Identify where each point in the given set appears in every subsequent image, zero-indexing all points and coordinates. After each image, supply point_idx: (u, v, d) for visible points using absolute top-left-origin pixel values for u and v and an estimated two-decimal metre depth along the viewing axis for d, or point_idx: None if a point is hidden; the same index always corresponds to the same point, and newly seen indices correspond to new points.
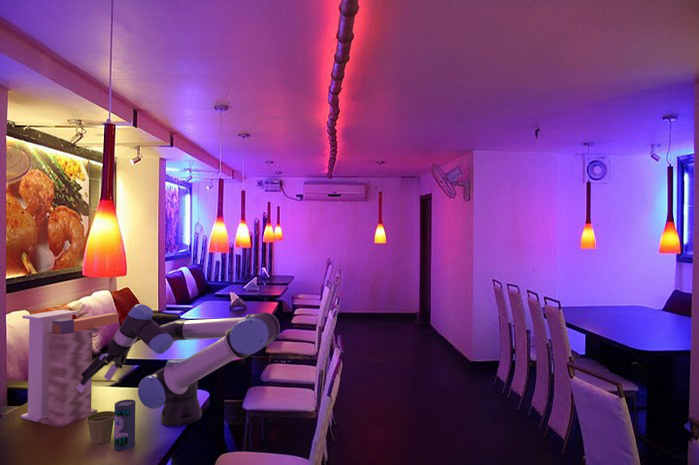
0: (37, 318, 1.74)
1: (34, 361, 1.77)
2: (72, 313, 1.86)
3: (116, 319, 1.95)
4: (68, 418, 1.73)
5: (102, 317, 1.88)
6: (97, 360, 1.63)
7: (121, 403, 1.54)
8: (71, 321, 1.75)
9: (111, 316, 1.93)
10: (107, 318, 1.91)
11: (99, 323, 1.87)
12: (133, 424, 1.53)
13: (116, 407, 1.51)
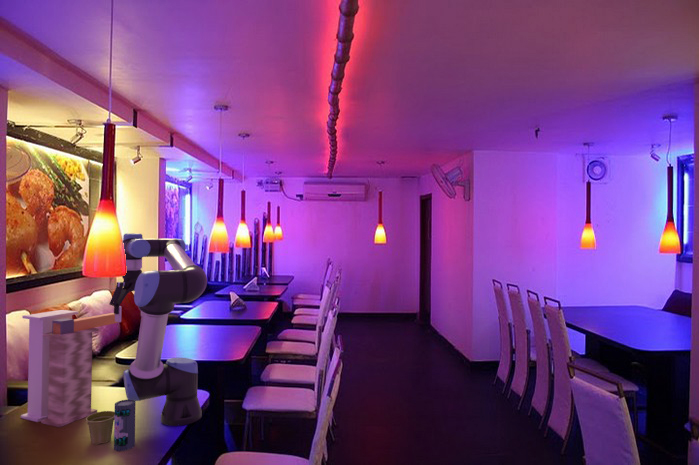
0: (37, 318, 1.74)
1: (34, 361, 1.77)
2: (72, 313, 1.86)
3: None
4: (68, 418, 1.73)
5: (102, 317, 1.88)
6: (117, 288, 1.86)
7: (121, 403, 1.54)
8: (71, 321, 1.75)
9: (111, 316, 1.93)
10: (107, 318, 1.91)
11: (99, 323, 1.87)
12: (133, 424, 1.53)
13: (116, 407, 1.51)
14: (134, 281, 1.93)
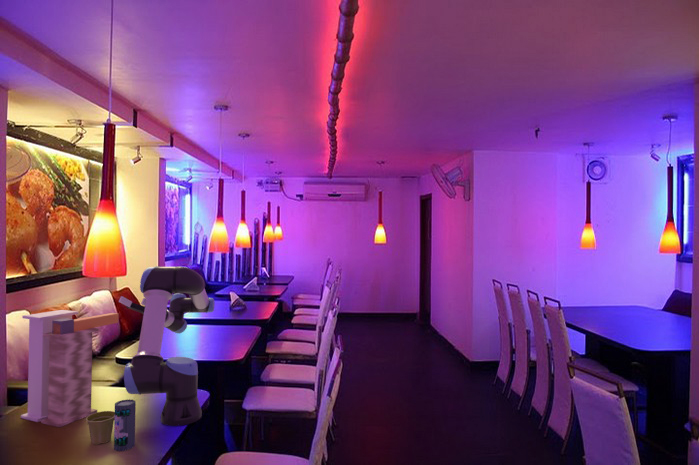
0: (37, 318, 1.74)
1: (34, 361, 1.77)
2: (72, 313, 1.86)
3: (116, 319, 1.95)
4: (68, 418, 1.73)
5: (102, 317, 1.88)
6: None
7: (121, 403, 1.54)
8: (71, 321, 1.75)
9: (111, 316, 1.93)
10: (107, 318, 1.91)
11: (99, 323, 1.87)
12: (133, 424, 1.53)
13: (116, 407, 1.51)
14: None
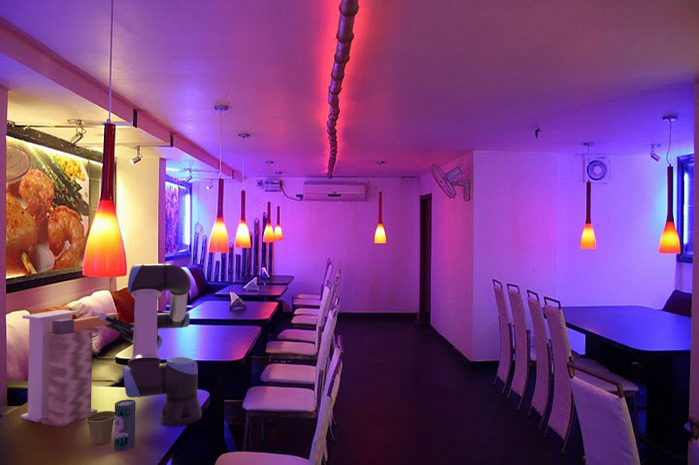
0: (37, 318, 1.74)
1: (34, 361, 1.77)
2: (72, 313, 1.86)
3: None
4: (68, 418, 1.73)
5: None
6: None
7: (121, 403, 1.54)
8: (71, 321, 1.75)
9: (111, 316, 1.93)
10: None
11: (99, 323, 1.87)
12: (133, 424, 1.53)
13: (116, 407, 1.51)
14: None
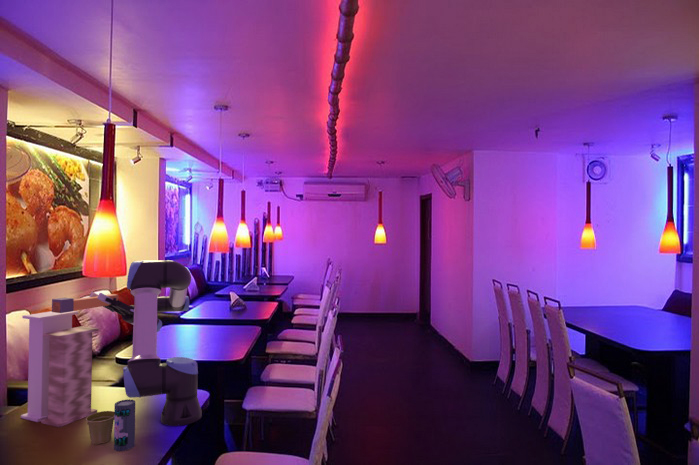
0: (37, 318, 1.74)
1: (34, 361, 1.77)
2: (72, 313, 1.86)
3: (116, 300, 1.95)
4: (68, 418, 1.73)
5: None
6: None
7: (121, 403, 1.54)
8: (71, 300, 1.76)
9: (111, 297, 1.93)
10: None
11: (98, 303, 1.87)
12: (133, 424, 1.53)
13: (116, 407, 1.51)
14: None
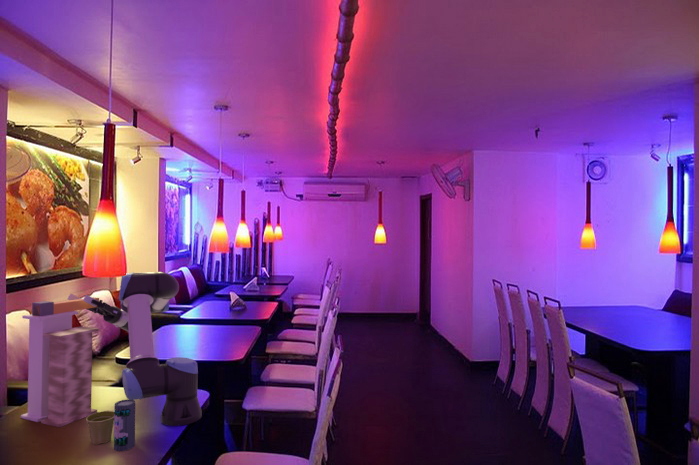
0: (37, 318, 1.74)
1: (34, 361, 1.77)
2: (72, 313, 1.86)
3: None
4: (68, 418, 1.73)
5: (82, 301, 1.93)
6: None
7: (121, 403, 1.54)
8: (51, 303, 1.80)
9: None
10: None
11: (79, 306, 1.92)
12: (133, 424, 1.53)
13: (116, 407, 1.51)
14: None
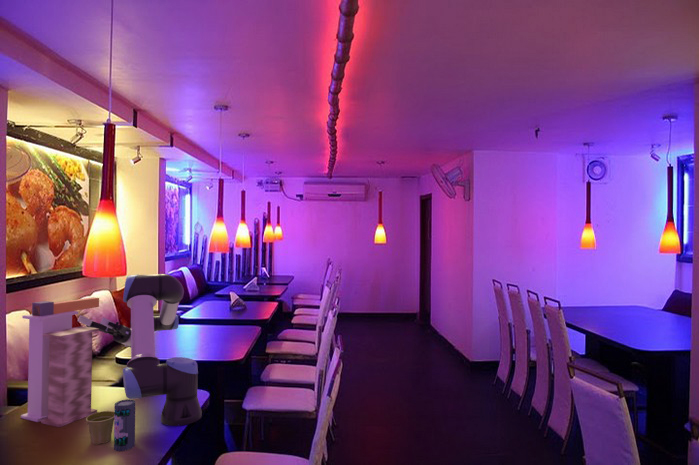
0: (37, 318, 1.74)
1: (34, 361, 1.77)
2: (72, 313, 1.86)
3: (97, 303, 2.00)
4: (68, 418, 1.73)
5: (82, 301, 1.93)
6: None
7: (121, 403, 1.54)
8: (51, 303, 1.80)
9: (91, 300, 1.97)
10: (88, 302, 1.95)
11: (79, 306, 1.92)
12: (133, 424, 1.53)
13: (116, 407, 1.51)
14: None
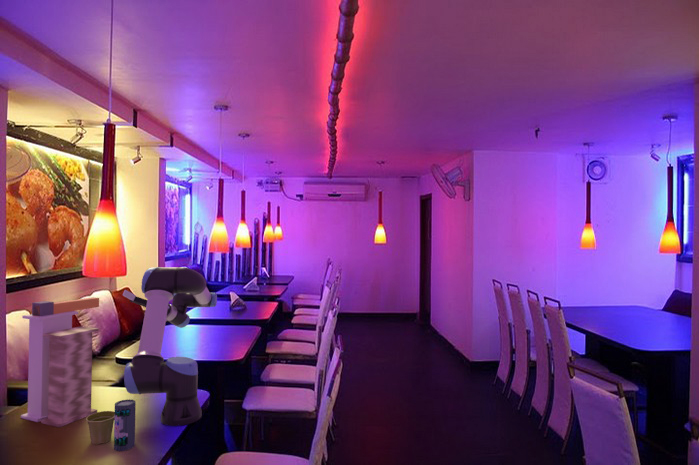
0: (37, 318, 1.74)
1: (34, 361, 1.77)
2: (72, 313, 1.86)
3: (97, 303, 2.00)
4: (68, 418, 1.73)
5: (82, 301, 1.93)
6: None
7: (121, 403, 1.54)
8: (51, 303, 1.80)
9: (91, 300, 1.97)
10: (88, 302, 1.95)
11: (79, 306, 1.92)
12: (133, 424, 1.53)
13: (116, 407, 1.51)
14: None
